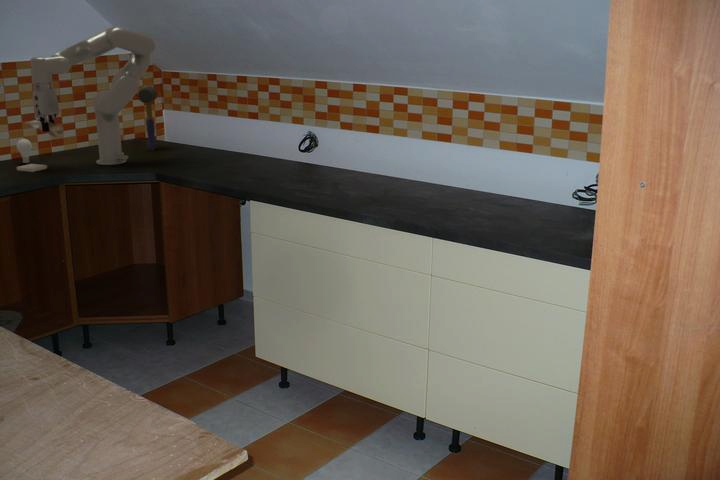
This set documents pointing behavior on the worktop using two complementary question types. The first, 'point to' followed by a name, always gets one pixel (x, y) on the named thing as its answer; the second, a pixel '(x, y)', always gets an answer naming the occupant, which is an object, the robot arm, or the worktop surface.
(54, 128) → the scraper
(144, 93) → the rubber mallet
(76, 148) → the worktop surface
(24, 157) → the lightbulb
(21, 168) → the tile
